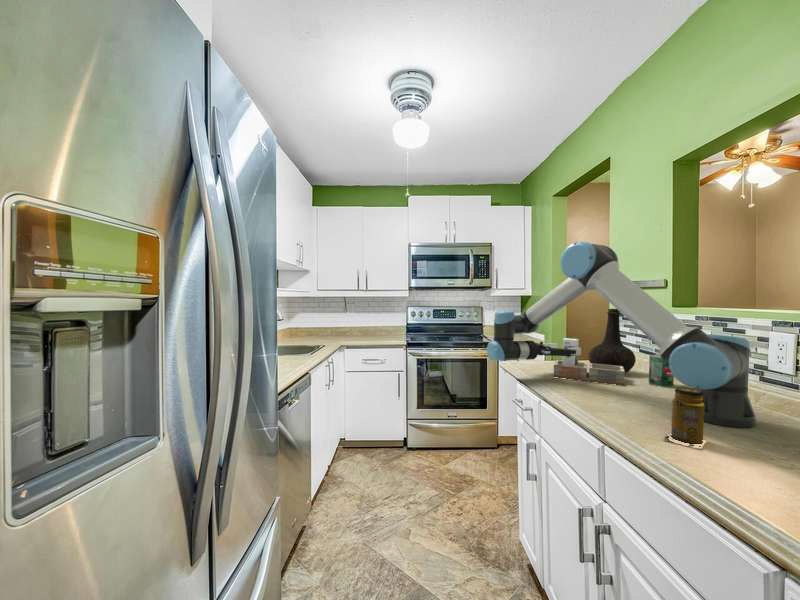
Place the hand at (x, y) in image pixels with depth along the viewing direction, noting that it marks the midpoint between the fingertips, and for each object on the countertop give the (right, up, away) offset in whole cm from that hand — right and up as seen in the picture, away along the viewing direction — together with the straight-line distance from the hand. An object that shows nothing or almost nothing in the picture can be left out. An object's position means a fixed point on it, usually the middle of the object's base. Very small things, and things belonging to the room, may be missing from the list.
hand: (568, 348), depth 159 cm
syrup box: (+1, -10, 0) cm, 10 cm away
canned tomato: (+30, -12, -13) cm, 35 cm away
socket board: (+6, -11, -4) cm, 14 cm away
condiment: (-3, -13, -69) cm, 71 cm away
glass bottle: (+22, -12, +9) cm, 27 cm away
